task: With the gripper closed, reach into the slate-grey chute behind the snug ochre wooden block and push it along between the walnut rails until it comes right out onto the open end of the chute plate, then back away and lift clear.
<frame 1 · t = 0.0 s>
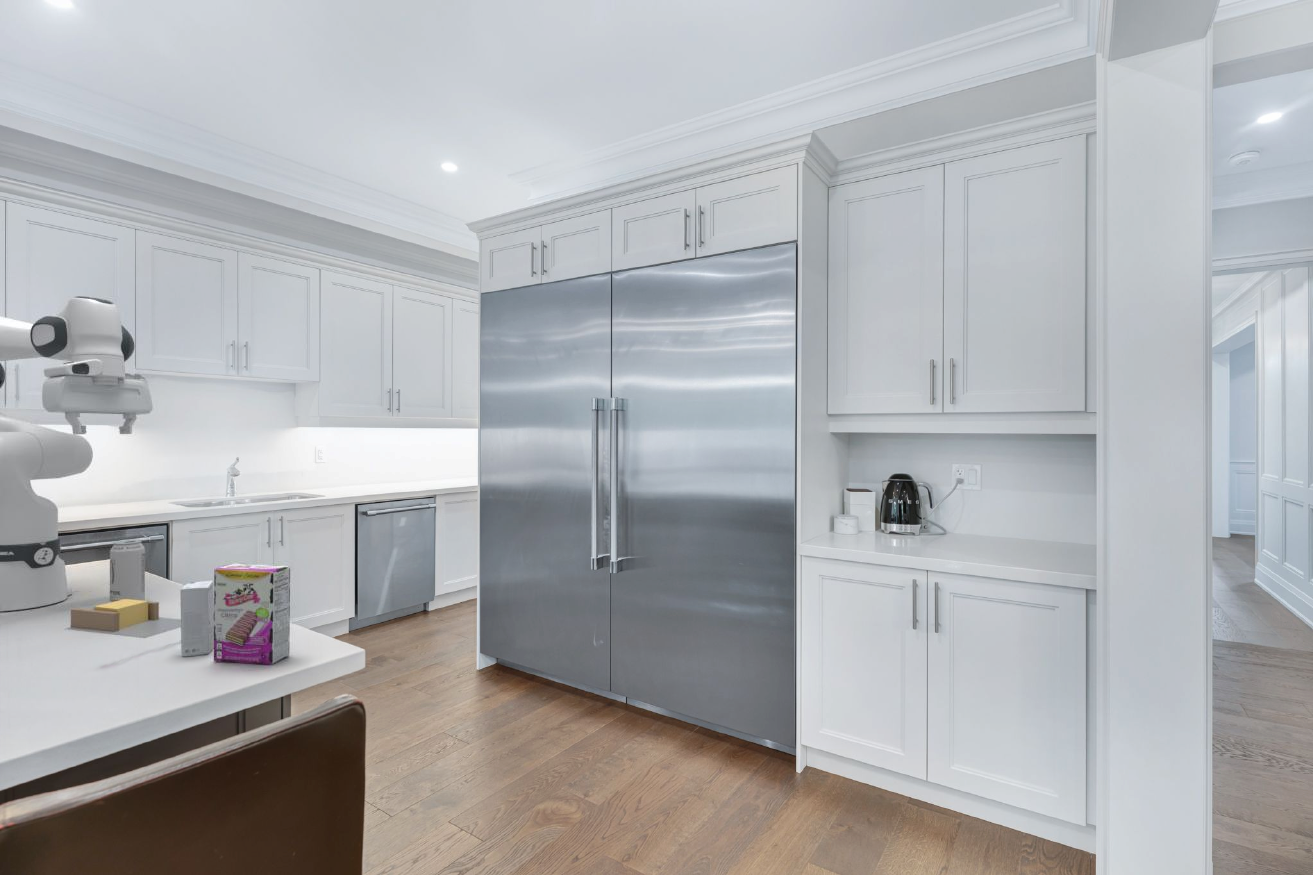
hand: (103, 434, 142), 39 cm above the countertop, tool pointing down, fingers open, 8 cm apart
ochre block: (121, 623, 131), point 1 cm above the countertop, touching chute
skincare box: (197, 651, 119), on the countertop
candy bar box: (252, 660, 114), on the countertop
chute: (133, 629, 130), on the countertop
energy drink can: (127, 610, 144), on the countertop
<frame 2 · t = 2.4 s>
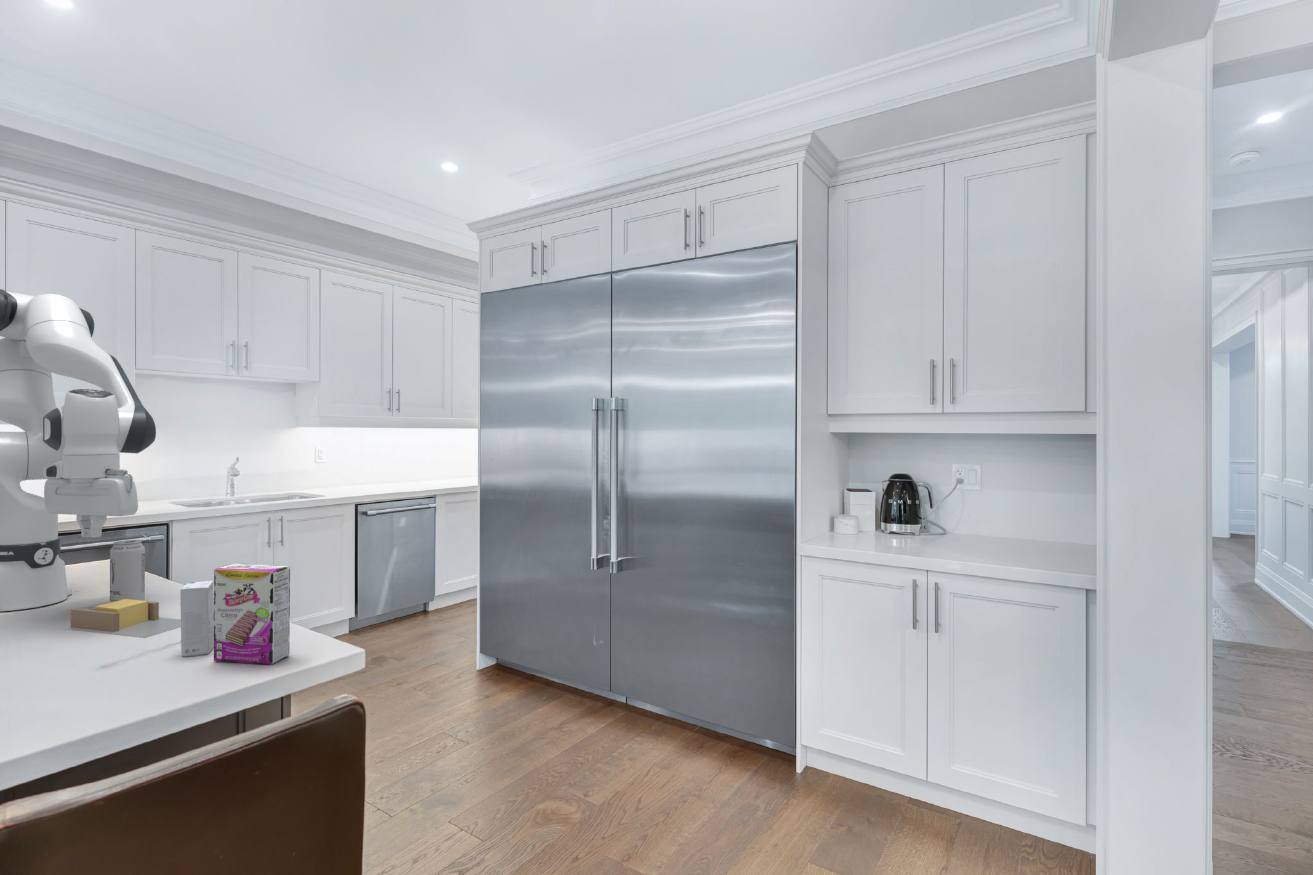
hand: (91, 537, 132), 18 cm above the countertop, tool pointing down, fingers closed
nothing on the countertop moved.
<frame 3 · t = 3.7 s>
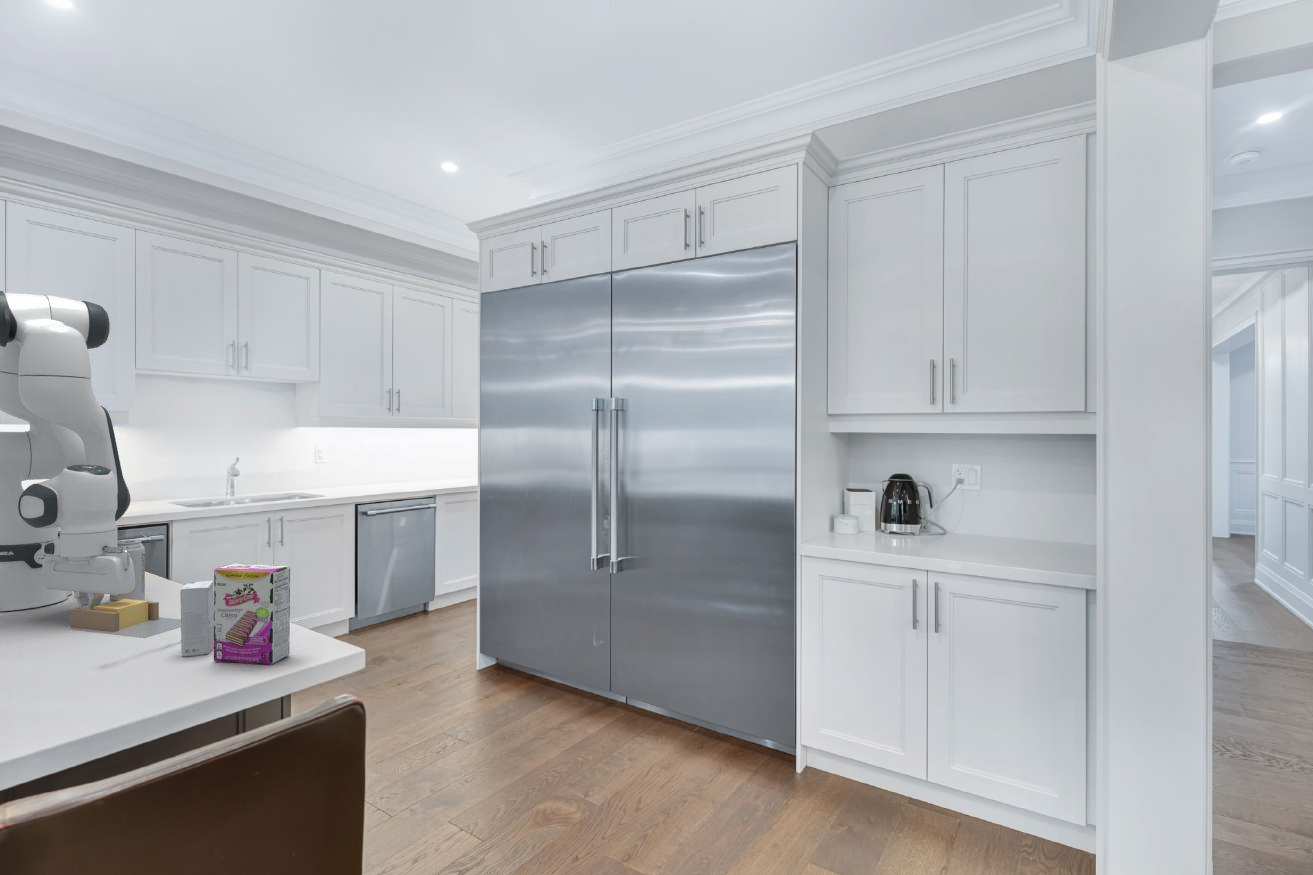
hand: (89, 613, 132), 3 cm above the countertop, tool pointing down, fingers closed
nothing on the countertop moved.
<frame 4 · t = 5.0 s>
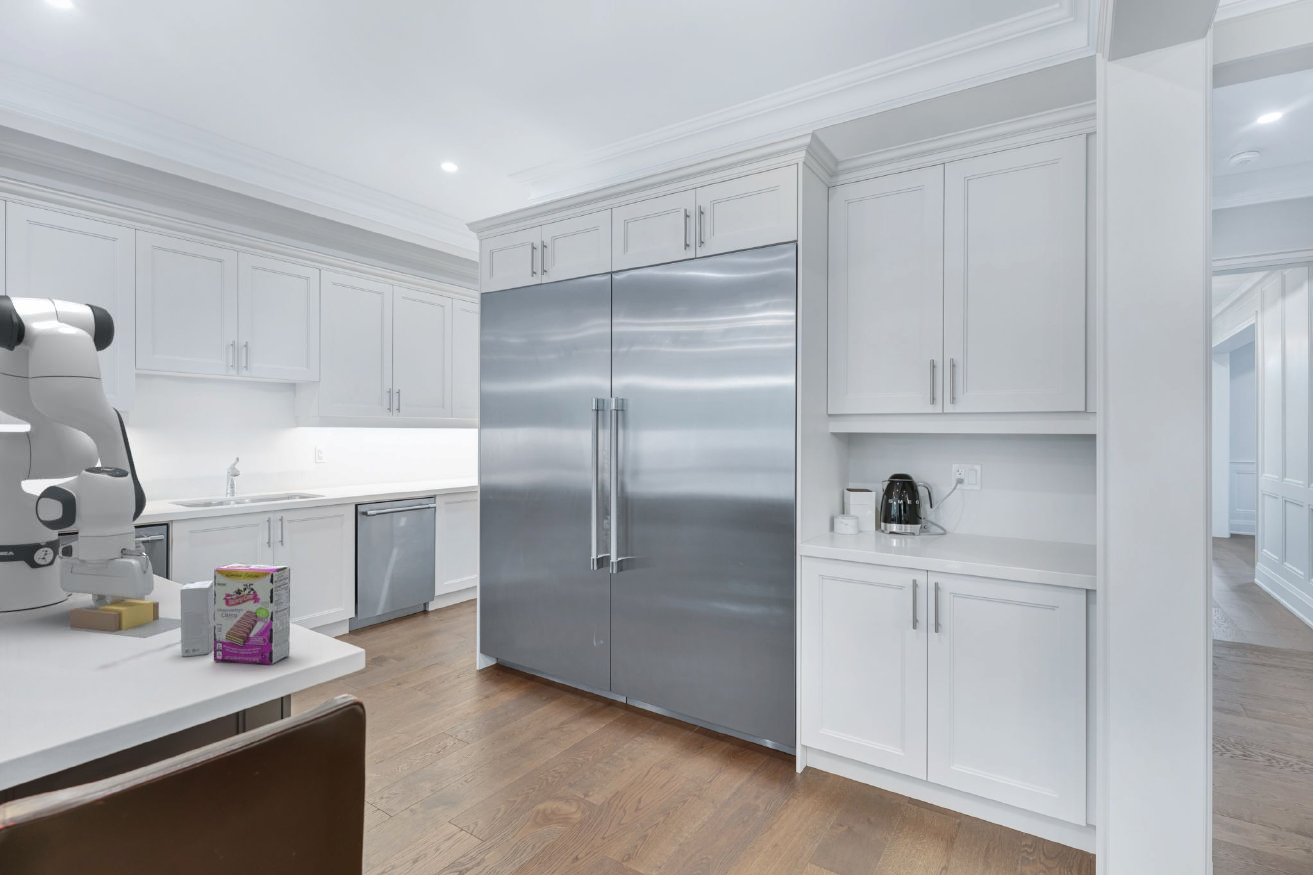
hand: (107, 616, 131), 2 cm above the countertop, tool pointing down, fingers closed
ochre block: (126, 624, 130), point 1 cm above the countertop
everything else where it was.
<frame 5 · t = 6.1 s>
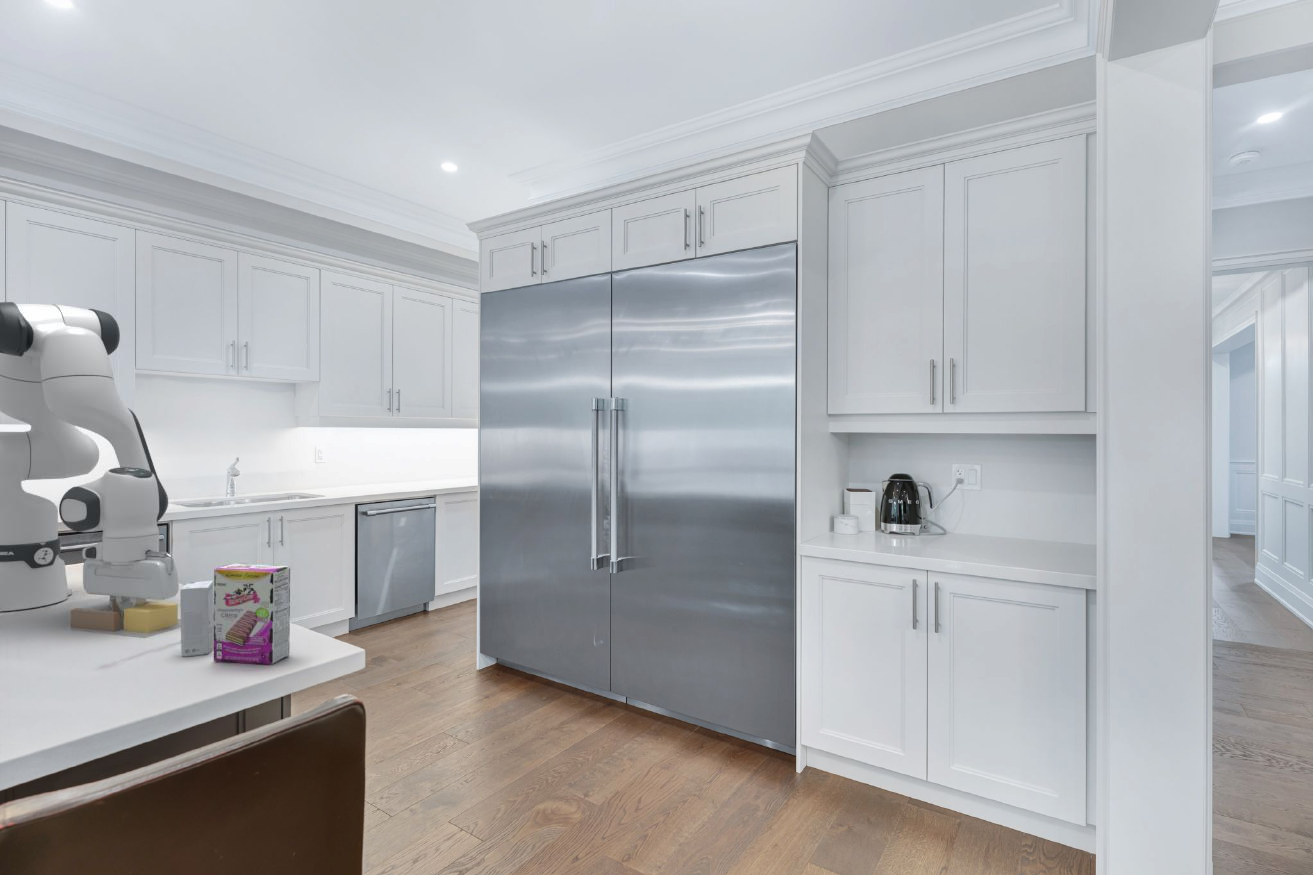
hand: (131, 618, 130), 2 cm above the countertop, tool pointing down, fingers closed
ochre block: (151, 626, 129), point 1 cm above the countertop, touching chute, gripper
everything else where it was.
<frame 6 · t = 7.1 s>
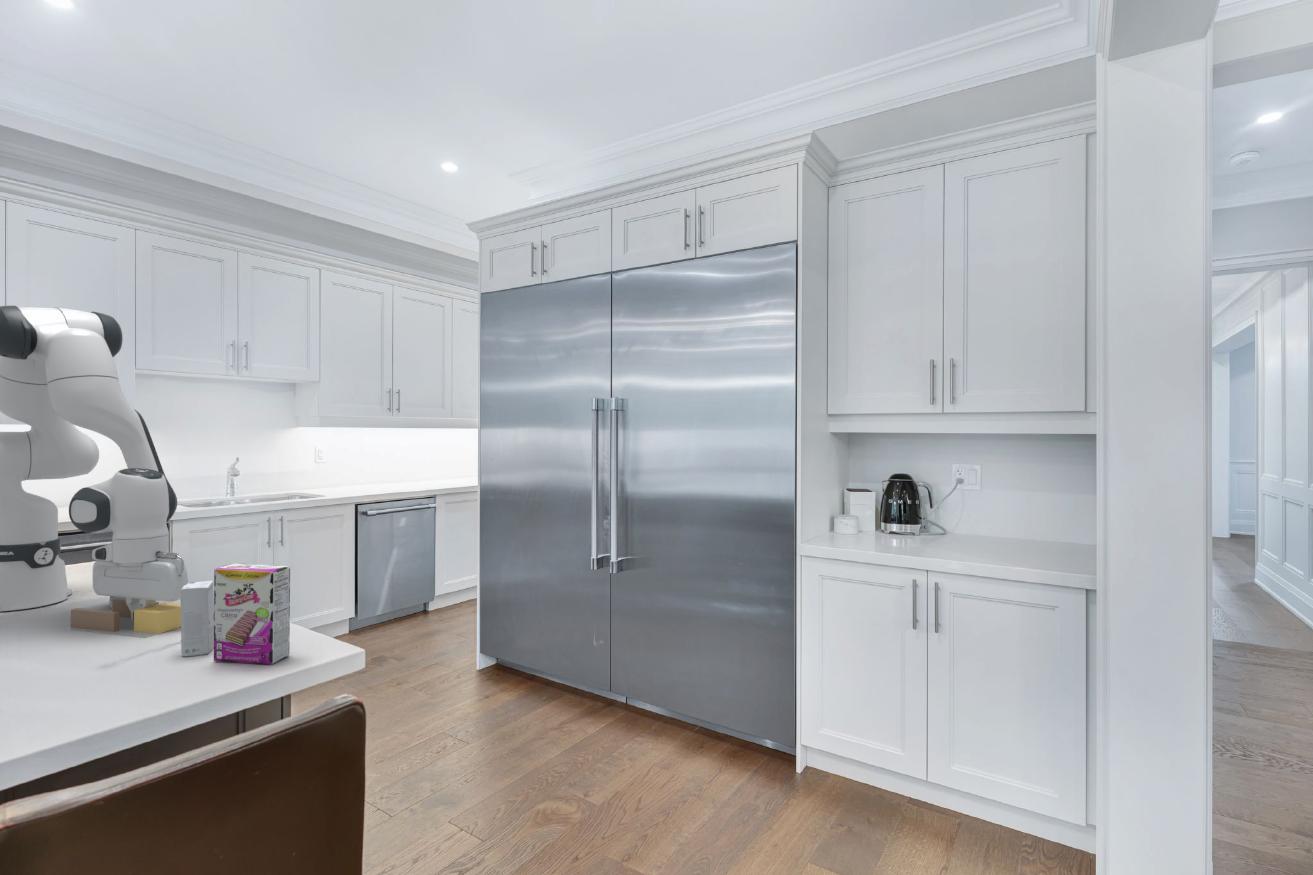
hand: (140, 619, 129), 2 cm above the countertop, tool pointing down, fingers closed
ochre block: (161, 627, 128), point 1 cm above the countertop, touching chute, gripper
everything else where it was.
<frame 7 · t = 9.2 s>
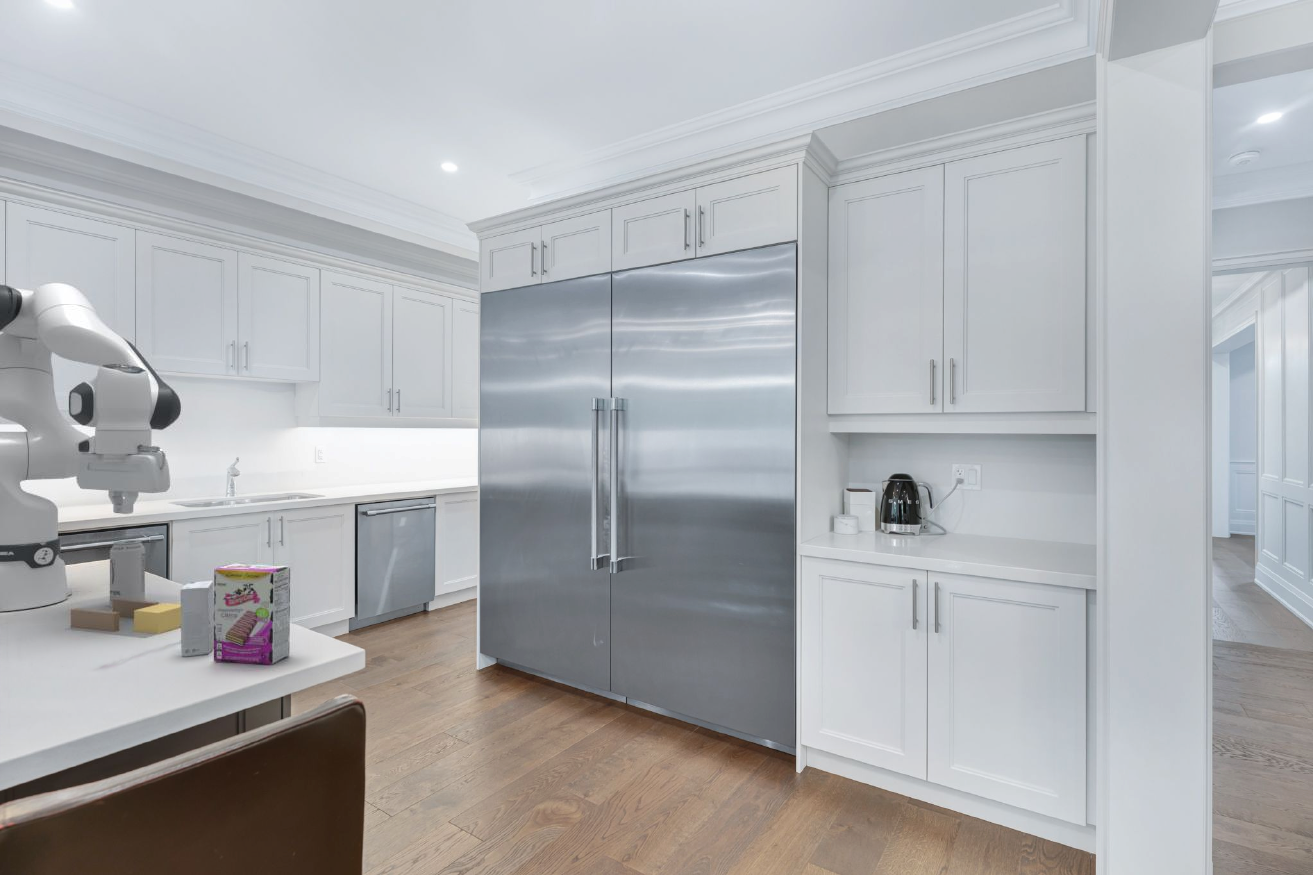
hand: (123, 513, 131), 23 cm above the countertop, tool pointing down, fingers closed
ochre block: (161, 627, 128), point 1 cm above the countertop, touching chute
everything else where it was.
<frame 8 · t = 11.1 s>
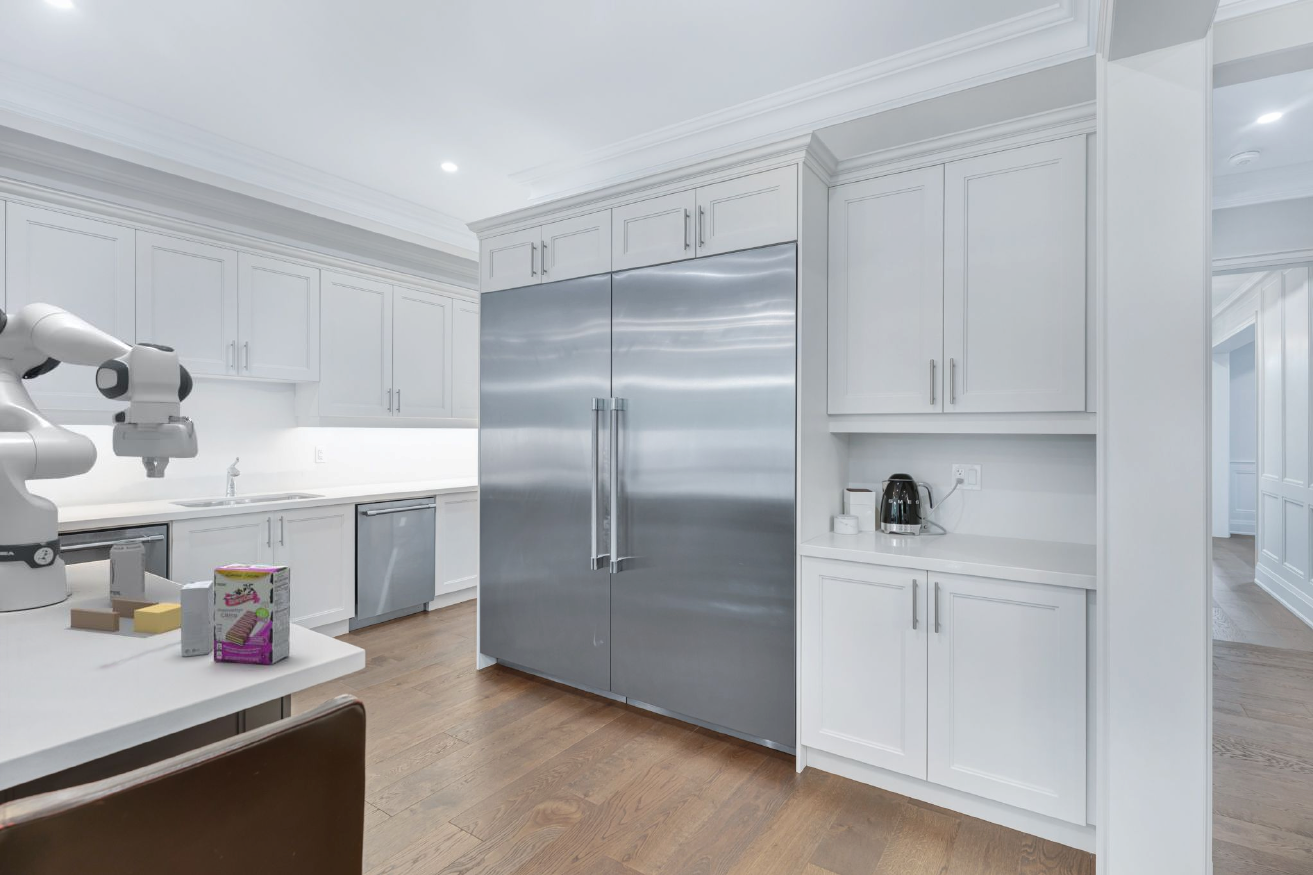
hand: (155, 477, 146), 29 cm above the countertop, tool pointing down, fingers closed
nothing on the countertop moved.
at the end: ochre block 0.9 cm from the target spot, point 1.0 cm above the countertop; ochre block moved 10.1 cm from its start; ochre block tilted 0° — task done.
